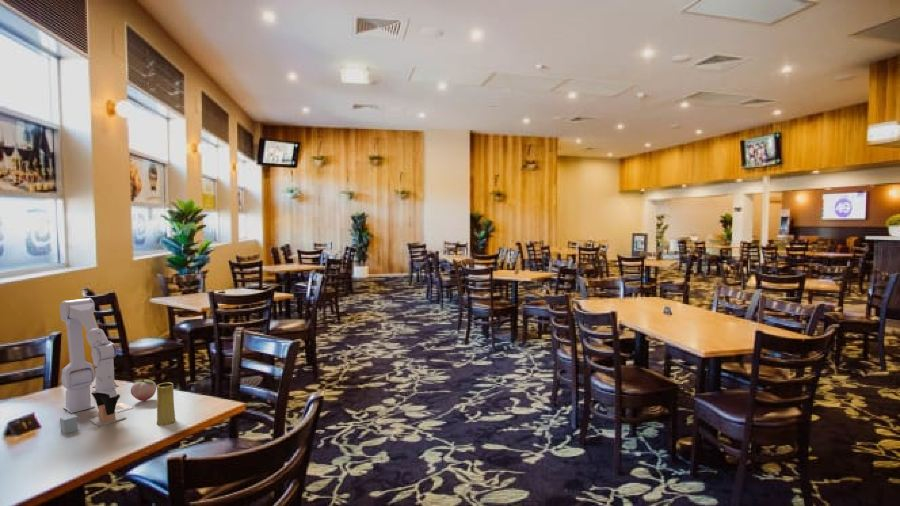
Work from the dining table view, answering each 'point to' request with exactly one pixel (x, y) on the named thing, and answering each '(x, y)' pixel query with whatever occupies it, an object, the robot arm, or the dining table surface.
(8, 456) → the dining table surface
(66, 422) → the brick blue
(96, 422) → the plate
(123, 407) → the card
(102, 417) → the brick terracotta
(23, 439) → the dining table surface
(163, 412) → the vase
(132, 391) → the decorative fruit
